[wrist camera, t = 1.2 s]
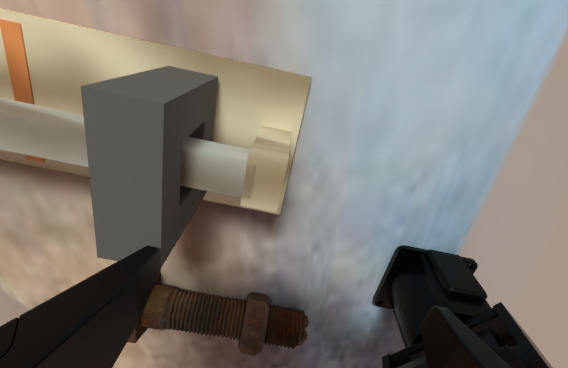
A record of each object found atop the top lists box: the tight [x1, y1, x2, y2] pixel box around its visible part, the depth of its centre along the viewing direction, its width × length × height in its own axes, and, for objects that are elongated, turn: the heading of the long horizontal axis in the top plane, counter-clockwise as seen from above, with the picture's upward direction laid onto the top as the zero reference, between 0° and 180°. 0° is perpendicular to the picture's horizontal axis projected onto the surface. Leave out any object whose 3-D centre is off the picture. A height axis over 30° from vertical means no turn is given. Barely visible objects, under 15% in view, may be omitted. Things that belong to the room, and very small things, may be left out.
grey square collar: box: [81, 66, 218, 267], centre depth 16 cm, size 8×3×8 cm, turn 169°
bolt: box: [127, 274, 308, 355], centre depth 26 cm, size 6×5×15 cm
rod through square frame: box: [0, 8, 311, 215], centre depth 18 cm, size 10×26×6 cm, turn 79°
